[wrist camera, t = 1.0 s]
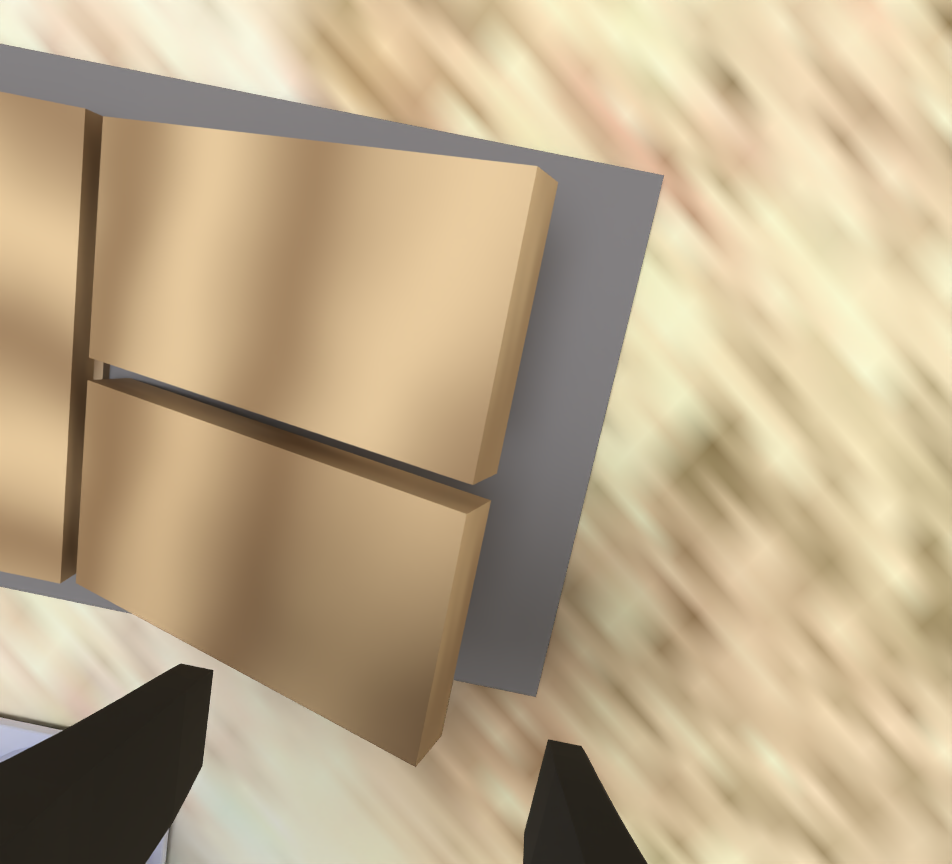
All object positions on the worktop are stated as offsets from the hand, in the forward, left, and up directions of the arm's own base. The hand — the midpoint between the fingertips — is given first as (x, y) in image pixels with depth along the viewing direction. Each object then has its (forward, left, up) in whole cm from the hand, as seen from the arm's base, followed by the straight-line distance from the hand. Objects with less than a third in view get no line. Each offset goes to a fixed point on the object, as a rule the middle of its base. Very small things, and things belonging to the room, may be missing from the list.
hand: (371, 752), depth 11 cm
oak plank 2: (0, +5, -7) cm, 9 cm away
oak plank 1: (+7, +5, -7) cm, 12 cm away
